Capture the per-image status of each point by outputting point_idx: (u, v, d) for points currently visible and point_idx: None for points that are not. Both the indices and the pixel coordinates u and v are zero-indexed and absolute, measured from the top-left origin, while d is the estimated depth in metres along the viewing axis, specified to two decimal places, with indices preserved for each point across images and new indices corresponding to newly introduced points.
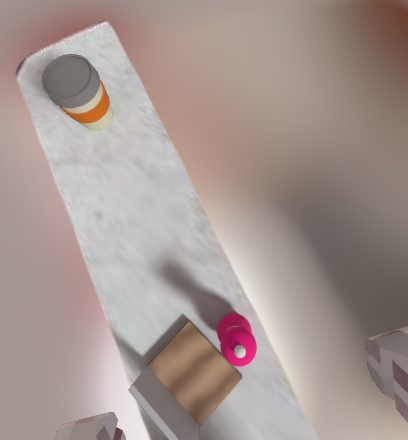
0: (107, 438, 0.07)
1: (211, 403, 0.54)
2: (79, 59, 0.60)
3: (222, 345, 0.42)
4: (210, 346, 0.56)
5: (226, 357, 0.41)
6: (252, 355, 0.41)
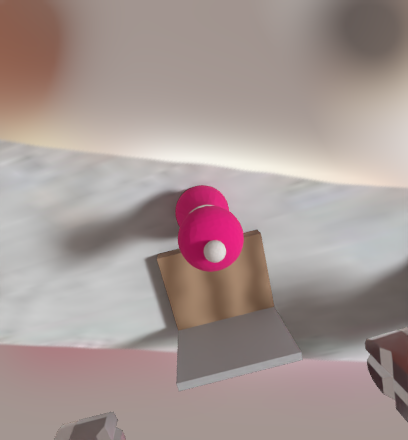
0: (107, 438, 0.07)
1: (261, 283, 0.40)
2: None
3: (192, 265, 0.23)
4: None
5: (212, 270, 0.23)
6: (235, 230, 0.22)
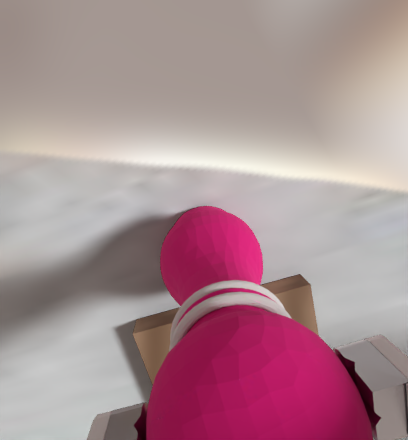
0: (143, 428, 0.07)
1: None
2: None
3: None
4: None
5: None
6: None
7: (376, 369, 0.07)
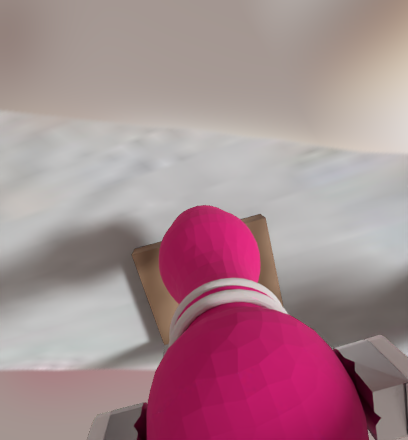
0: (143, 428, 0.07)
1: (267, 282, 0.32)
2: None
3: None
4: None
5: None
6: (358, 435, 0.06)
7: (376, 369, 0.07)
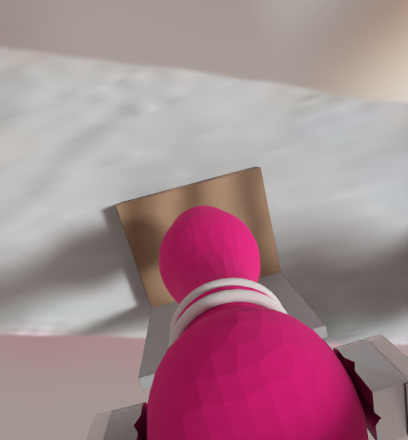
0: (143, 428, 0.07)
1: (262, 239, 0.30)
2: None
3: None
4: (179, 192, 0.27)
5: None
6: (358, 434, 0.06)
7: (376, 369, 0.07)
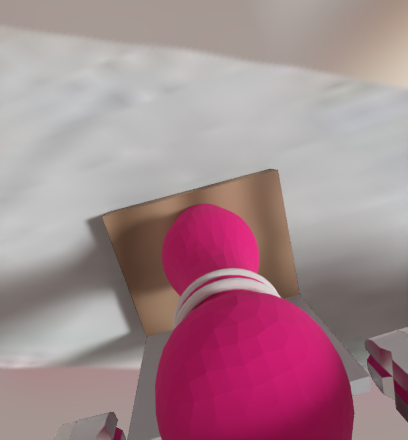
0: (107, 438, 0.07)
1: (279, 256, 0.25)
2: None
3: None
4: (180, 199, 0.23)
5: None
6: (343, 399, 0.06)
7: None
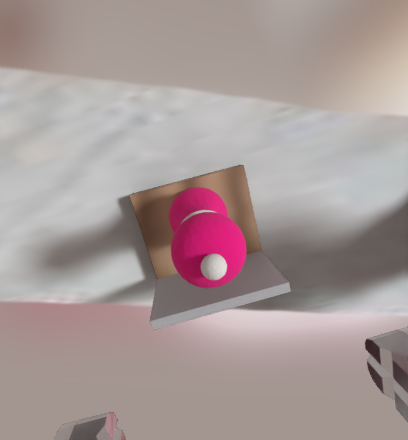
0: (107, 438, 0.07)
1: (246, 223, 0.37)
2: None
3: (188, 281, 0.20)
4: (180, 184, 0.35)
5: (211, 287, 0.20)
6: (237, 240, 0.19)
7: None
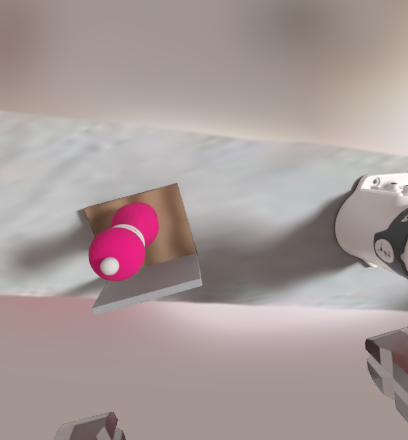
0: (107, 438, 0.07)
1: (182, 231, 0.45)
2: None
3: (100, 276, 0.28)
4: (125, 200, 0.43)
5: (116, 280, 0.28)
6: (131, 248, 0.27)
7: None
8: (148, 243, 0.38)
